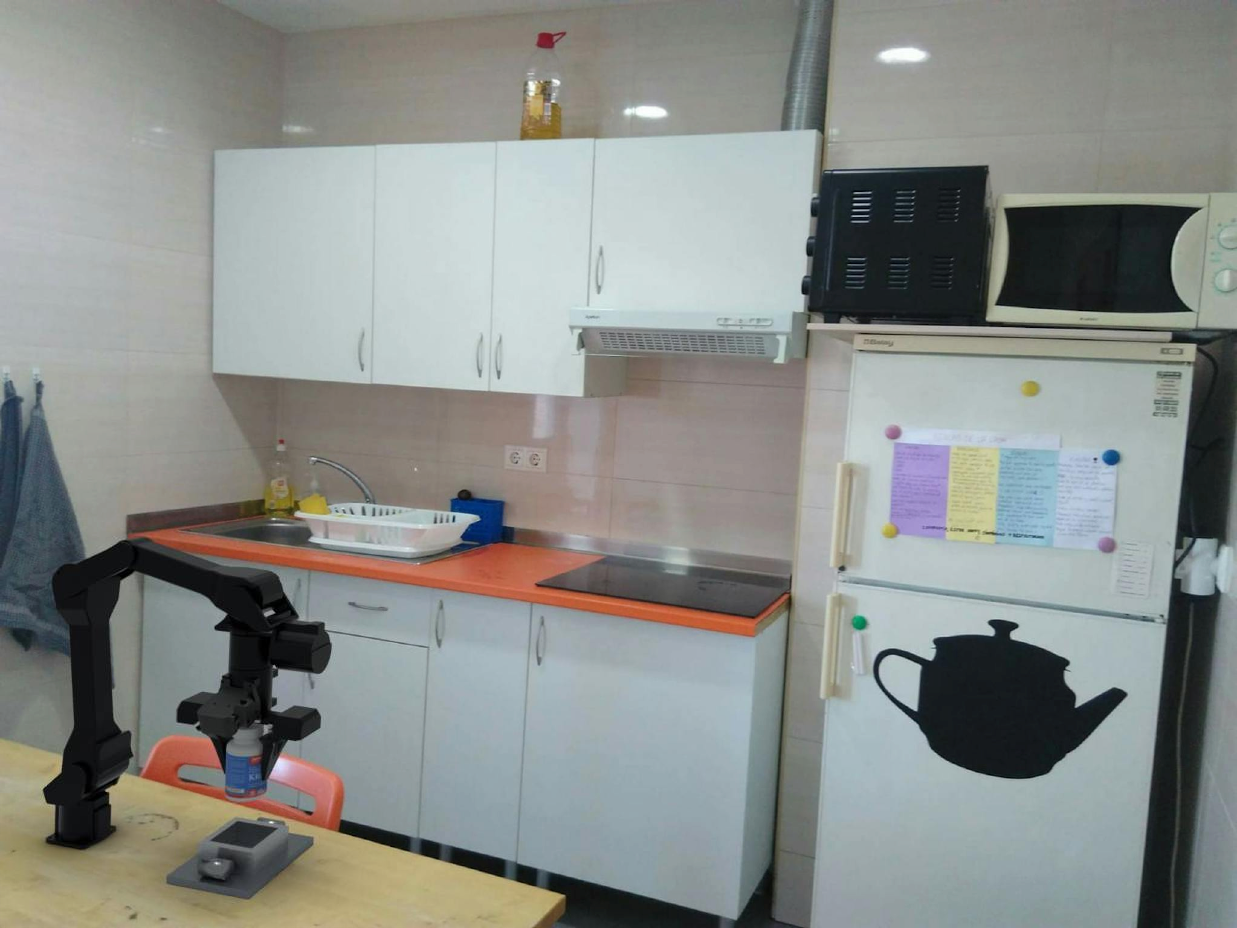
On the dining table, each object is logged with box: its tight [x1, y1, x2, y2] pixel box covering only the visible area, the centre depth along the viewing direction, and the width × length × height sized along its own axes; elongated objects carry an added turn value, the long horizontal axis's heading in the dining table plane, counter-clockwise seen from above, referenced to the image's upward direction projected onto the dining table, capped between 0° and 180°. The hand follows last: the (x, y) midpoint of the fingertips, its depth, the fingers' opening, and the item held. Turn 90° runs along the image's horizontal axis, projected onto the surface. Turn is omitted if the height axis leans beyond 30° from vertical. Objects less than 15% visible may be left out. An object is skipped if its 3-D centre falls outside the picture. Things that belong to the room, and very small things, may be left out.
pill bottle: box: [224, 723, 268, 803], centre depth 132 cm, size 6×5×10 cm
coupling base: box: [165, 816, 315, 900], centre depth 133 cm, size 12×16×4 cm
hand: (246, 776), depth 132 cm, fingers closed on pill bottle, 5 cm apart
